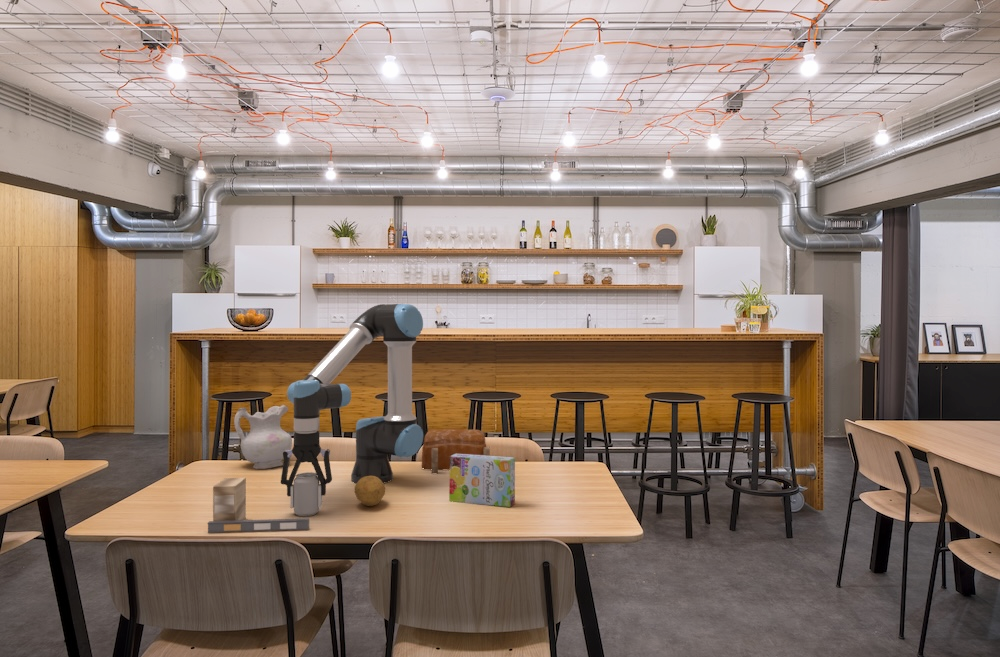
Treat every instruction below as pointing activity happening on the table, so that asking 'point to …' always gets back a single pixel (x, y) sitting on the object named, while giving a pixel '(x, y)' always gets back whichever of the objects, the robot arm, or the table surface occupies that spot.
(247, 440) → the ceramic pitcher
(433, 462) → the twin upright posts
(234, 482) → the kraft box
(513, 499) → the snack box
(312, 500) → the can
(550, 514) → the table surface
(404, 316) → the robot arm
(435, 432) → the bread
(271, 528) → the rail
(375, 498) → the potato
